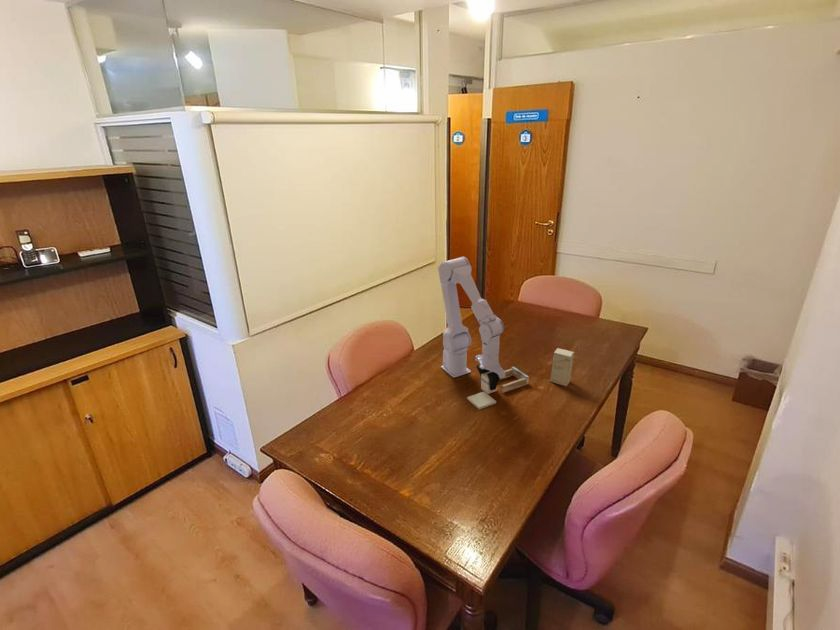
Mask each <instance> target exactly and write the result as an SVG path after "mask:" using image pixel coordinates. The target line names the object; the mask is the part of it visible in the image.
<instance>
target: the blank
mask: <svg viewBox="0 0 840 630" xmlns="http://www.w3.org/2000/svg"><path fill="white" fill-rule="evenodd" d="M491 372H492V371H490V372H487V373H483V374H481V376H480V389H481V390H482V392H485V393H486V394H488V395H489V394H491V393H494V392H498V391H497V390H498V386H497V387H496V389H495V390H492V391H491V390H490V384H489V378H488V376H487V374H488V373H491Z"/></svg>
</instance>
